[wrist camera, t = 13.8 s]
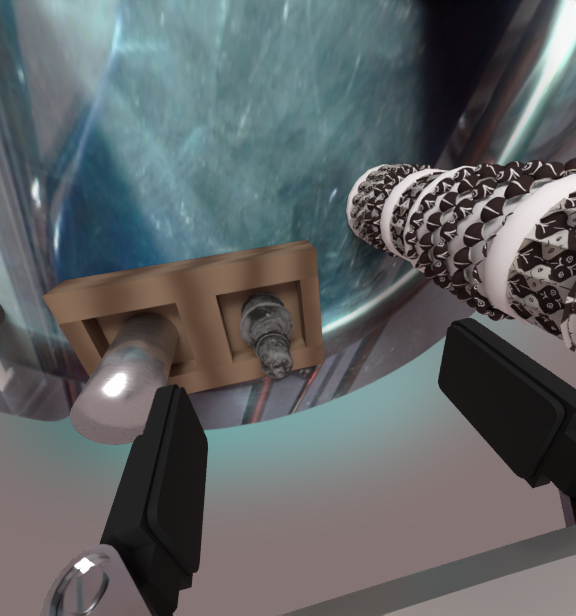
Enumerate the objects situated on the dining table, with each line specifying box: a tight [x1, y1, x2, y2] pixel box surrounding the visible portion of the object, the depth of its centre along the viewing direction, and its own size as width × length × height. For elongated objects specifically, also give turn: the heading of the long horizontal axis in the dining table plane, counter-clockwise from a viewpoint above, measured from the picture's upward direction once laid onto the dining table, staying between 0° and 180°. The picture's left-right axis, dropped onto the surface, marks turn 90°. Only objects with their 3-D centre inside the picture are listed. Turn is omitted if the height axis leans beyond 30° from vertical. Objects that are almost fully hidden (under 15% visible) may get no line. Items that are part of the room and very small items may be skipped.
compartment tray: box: [42, 240, 324, 394], centre depth 33 cm, size 26×15×4 cm, turn 96°
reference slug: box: [70, 312, 178, 445], centre depth 27 cm, size 6×6×12 cm
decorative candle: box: [346, 158, 576, 352], centre depth 22 cm, size 9×9×25 cm
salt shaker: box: [240, 292, 294, 379], centre depth 29 cm, size 6×6×12 cm
